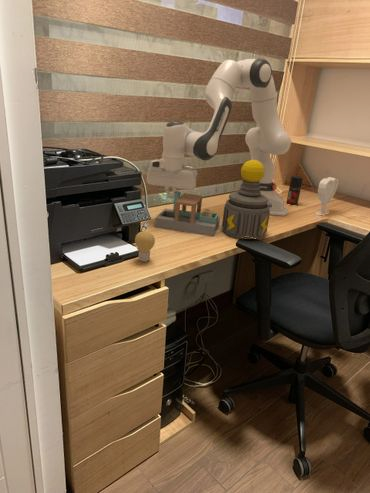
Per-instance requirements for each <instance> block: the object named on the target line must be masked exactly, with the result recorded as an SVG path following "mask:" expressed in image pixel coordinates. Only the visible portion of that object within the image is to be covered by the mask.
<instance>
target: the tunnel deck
mask: <svg viewBox="0 0 370 493" xmlns="http://www.w3.org/2000/svg"><path fill="white" fill-rule="evenodd" d="M202 202H203V195H198V194H192V193H187V192H186V193H183V194H182V195H180V198H179V199H178V200H177V201H176V204H175V215H173V208H172V209H171V208H164V209H163V210H162V211H161V212H159V213H158V215H156V216H155V219H154V221H155V222H154V227H155V228H160V229H165V230H171V231H178V232H182V233H183V232H185V233H191V234H196V235H197V234H198V235H203V236H210V237H214V236H215V234H216V232H217V231H218V228H219V227H220V222H221V221H220V220H221V217H220V216H219V215H218V219H217V221H216V223H211V222H204V221H199V218H195V212H196V213H202ZM187 207H191V210H190V212H191V217H185V216H179V212H180V210H182V211H187Z"/></svg>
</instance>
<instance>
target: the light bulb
mask: <svg viewBox="0 0 370 493" xmlns="http://www.w3.org/2000/svg"><path fill="white" fill-rule="evenodd" d="M134 237H135V238H134V244H135V246H136V248H137V249H138V260H139V261H140V262H148V261H150V259H151V250H152V249H153V248H154V246H155V244H156V243H155V242H156V238H155V236H154V234H153V232H150V231H147V230H142V231H140V232H138V233H137V234H136V235H135V236H134Z"/></svg>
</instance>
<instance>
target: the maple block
mask: <svg viewBox="0 0 370 493" xmlns="http://www.w3.org/2000/svg"><path fill="white" fill-rule="evenodd" d="M201 213H202V216H206V217H212V218H213V213H214V209H211V208H210V209H209V208H203V209H202V210H201Z"/></svg>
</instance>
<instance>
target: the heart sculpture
mask: <svg viewBox="0 0 370 493" xmlns="http://www.w3.org/2000/svg"><path fill="white" fill-rule="evenodd" d="M338 185H339V179H338V178H335V177H331V176H328V177H327V178H326V177H325V178H322V179H321V180H320V182H319V183H318V187H317V198H318V200H319V201H320V203H321V207H320V210H319V212H318V211H316V212H315V213H316V214H318V215H324V214H326V213H328V211H329V210H326V208H327V205H329V204H330V202H331V200H333V197H334V196H335V193H336V192H337V189H338ZM325 210H326V211H325ZM326 215H327V214H326ZM324 216H325V215H324Z"/></svg>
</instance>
